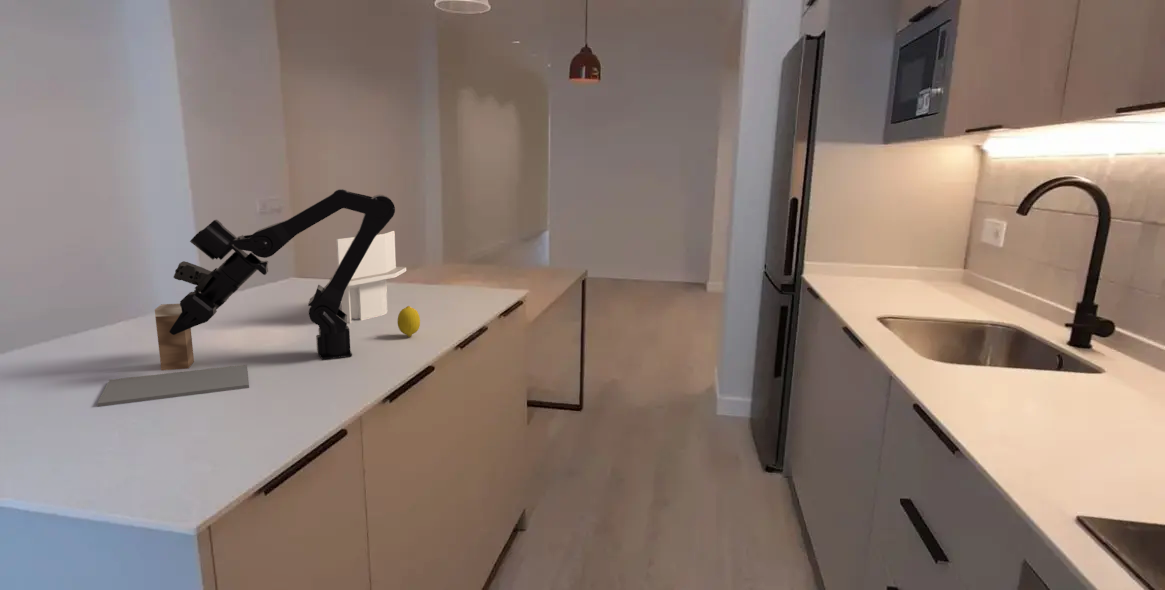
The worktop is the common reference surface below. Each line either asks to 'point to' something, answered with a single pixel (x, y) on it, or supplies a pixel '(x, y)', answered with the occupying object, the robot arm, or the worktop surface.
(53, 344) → the worktop surface
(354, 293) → the architectural model
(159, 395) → the slate mat
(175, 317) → the walnut block
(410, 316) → the lemon
